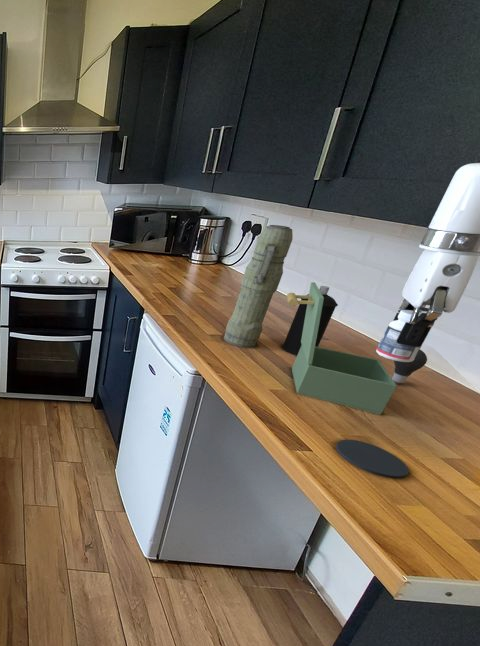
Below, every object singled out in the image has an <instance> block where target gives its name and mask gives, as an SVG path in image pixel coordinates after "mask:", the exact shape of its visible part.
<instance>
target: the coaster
mask: <svg viewBox="0 0 480 646" xmlns="http://www.w3.org/2000/svg"><path fill="white" fill-rule="evenodd" d="M335 449H336V451H337V453H338V454H339V455H340V456H341V457H342V458H343V459H344V460H345V461H347V462H348V463H350V464H351V465H353V466H355V467H357V468H359V469H361V470H363V471H364V472H365V471H366V472H368V473H370V474H373V475H376V476H379V477H383V478H388V479H404V478H406V477H407V476H408V474H409V467H408V466H407V464H405V462H403V461H402V460H401V459H400V458H399V457H397V455H394V454H393V453H391V452H389V451H387V450H385V449H383V448H381V447H379V446H376V445H374V444H371V443H368V442H364V441H361V440H356V439H355V440H354V439H342V440H339V441H338V442H337V443H336V445H335Z"/></svg>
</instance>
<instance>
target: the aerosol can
mask: <svg viewBox="0 0 480 646" xmlns="http://www.w3.org/2000/svg"><path fill="white" fill-rule="evenodd" d="M318 289H319V290H320V292H321V294H322V296H323V297H324V300H323V306H322V311H321V317H320V322H319V328H318V333H317V339H316V344H315V346H316V347H319V346H320V343H321V341H322V339H323V337H324V334H325V332H326V330H327V328H328V325H329V323H330V322H331V319H332V317H333V314H334V312H335V309H336V308H337V307H338V306H339V304H338V303H337V301H336V300H335V298H333V296H331V295H329V294H328V293H329V290H330V287H329V286H326V285H320V286H319V288H318ZM307 295H309V293H308V294H307ZM300 300H304V301H308V299H300ZM306 309H307V304H298V307H297V309H296V311H295V315H294V317H293V319H292V322H291V324H290V326H289V330H288V331H287V335H286V337H285V339H284V341H283V344H282V345H281V350H283V351H285V352H287V353H289V354H292V355H294V356H297V355H298V353H299V350H300V348H301V345H302V344H301V339H302V333H303V327H304V321H305V315H306Z"/></svg>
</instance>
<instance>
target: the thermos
mask: <svg viewBox="0 0 480 646" xmlns="http://www.w3.org/2000/svg"><path fill="white" fill-rule="evenodd" d="M293 237H294V235H293V229H292V228H290V226H287V225H279V224H269V225H266V226H265V227H264V228H263V230H262V231H261V233H260V234H259V236H258V239H257V242H256V245H255V248H254V251H253V256H252V257H251V260H250V261H249V262H248V264H247V265H246V267H245V270H244V272H243V273H244V274H243V276H242V279H241V282H240V286H241V288H240V291H239V294H238V297H237V300H236V303H235V306H234V310H233V312H232V315H231V317H230V318H229V319H228V321H227V323H226V327H225V330H224V332H225V334H224V335H223V340H224V341H225V342H226V343H228V344H230V345H233V346H236V347H240V348H248V349H249V348H250V349H251V348H255V347H256V346H257V342H258V340H259V339H260V337H261V334H262V331H263V322H264V321H265V320H264V319H265V317H266V314H267V312H268V309H269V306H270V303H271V301H272V298H273V295H274V294H275V293H276V292H277V291H278V288H279V285H280V282H281V280H282V276H283V274H284V264H285V259H286V257H287V255H288V253H289V250H290V247H291V244H292V242H293Z"/></svg>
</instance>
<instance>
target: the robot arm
mask: <svg viewBox="0 0 480 646" xmlns="http://www.w3.org/2000/svg"><path fill="white" fill-rule="evenodd" d="M451 178H452V179H451V181H450V182H449V184H448V186H447V189H446V191H445V193H444V195H443V197H442V199H441V200H440V203H439V205H438V207H437V209H436V211H435V213H434V215H433V216H432V219H431V221H430V223H429V225H428V227H427V229H426V231H425V233H424V235H423V237H422V240H421V242H420V244H419V245H418V248H419V249H422V250H423V251H422V253H421V254H420V256H419V258H418V260H417V261H416V263H415V265H414V267H413V268H412V270H411V272H410V274H409V276H408V278H407V279H406V282H405V284H404V286H403V288H402V292H401V296H402V298H404V299H403V300H402V303H401V305H400V306H399V307H398V310H397V311H398V312H396V314H395V316H394V318H393V319H392V321H395V320H398V315H399V313H400V311H401V310H412V311H413V313H412V315H411V318H410V320H409V323H408V322H406V323H405V325H404V327H403V329H402V330H401V332H400V334H399V336H398V338H397V340H396V342H397V343H399V344H404V345H409V346H414V347H421V348H422V346H423V344H424V342H425V340H426V339H425V338H427V337H428V335H429V333H430V331H431V329H432V328H433V327H434V325H435V322H436V321H437V320H438V318H440V317H441V316H442V315H443V312H444V313H446V314H450V313H453V312H455V310H456V309H457V306H458V304H459V302H460V301H461V299H462V297H463V294H464V293H465V290H466V288H467V286H468V284H469V282H470V280H471V278H472V275H473V274H474V270H475V268H476V265H477V262H478V258H479V257H480V162H473V163H467V164H465V165H462V166H461V167H459V168H458V169H457V170H456V171H455V173H454V175H453V176H452V177H451ZM426 306H429V307H426ZM420 312H422V314H420V315H419V313H420ZM418 315H419V316H418Z"/></svg>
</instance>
